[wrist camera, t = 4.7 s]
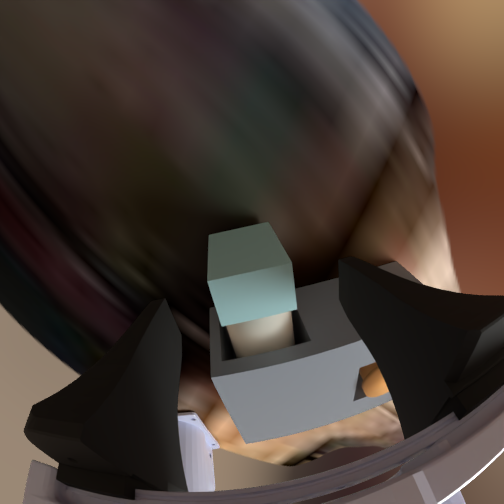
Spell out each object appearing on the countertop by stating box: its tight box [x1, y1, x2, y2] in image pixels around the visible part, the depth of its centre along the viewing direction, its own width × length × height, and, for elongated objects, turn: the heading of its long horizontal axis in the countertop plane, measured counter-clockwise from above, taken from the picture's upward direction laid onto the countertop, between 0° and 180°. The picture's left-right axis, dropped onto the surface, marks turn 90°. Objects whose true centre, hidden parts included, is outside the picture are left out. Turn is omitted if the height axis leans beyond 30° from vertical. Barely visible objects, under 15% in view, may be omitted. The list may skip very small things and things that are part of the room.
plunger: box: [359, 362, 389, 397], centre depth 16 cm, size 3×3×4 cm
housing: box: [210, 261, 422, 444], centre depth 17 cm, size 9×14×6 cm, turn 100°
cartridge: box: [207, 222, 297, 359], centre depth 16 cm, size 12×4×5 cm, turn 10°
